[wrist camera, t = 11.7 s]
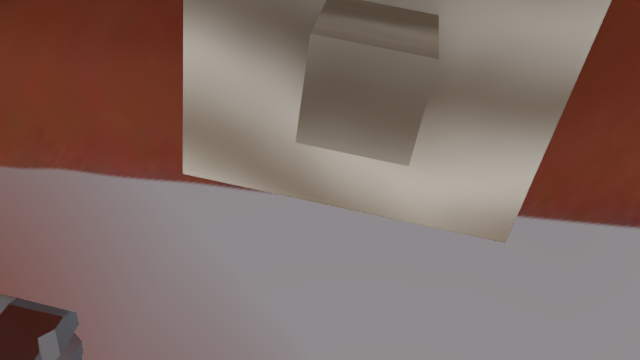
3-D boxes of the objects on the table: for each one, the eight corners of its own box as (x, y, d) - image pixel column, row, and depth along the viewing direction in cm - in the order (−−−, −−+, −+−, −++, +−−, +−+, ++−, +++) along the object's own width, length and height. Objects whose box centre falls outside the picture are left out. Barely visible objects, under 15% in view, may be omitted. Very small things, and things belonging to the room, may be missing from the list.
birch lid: (192, -214, 19) (129, -210, 15) (659, -131, 18) (719, -104, 14) (188, 164, 28) (148, 228, 24) (503, 231, 27) (514, 308, 23)
